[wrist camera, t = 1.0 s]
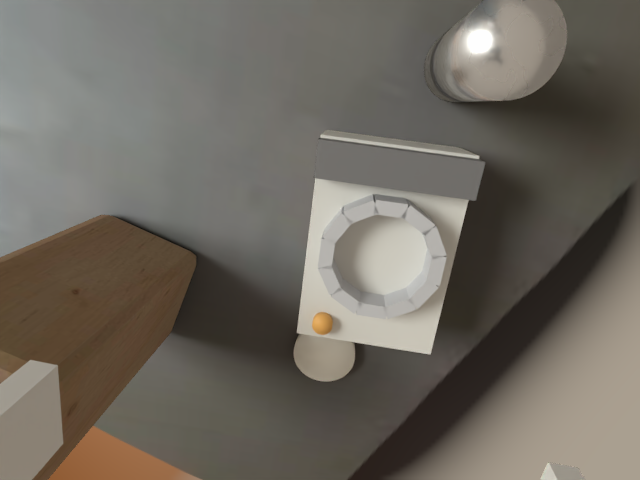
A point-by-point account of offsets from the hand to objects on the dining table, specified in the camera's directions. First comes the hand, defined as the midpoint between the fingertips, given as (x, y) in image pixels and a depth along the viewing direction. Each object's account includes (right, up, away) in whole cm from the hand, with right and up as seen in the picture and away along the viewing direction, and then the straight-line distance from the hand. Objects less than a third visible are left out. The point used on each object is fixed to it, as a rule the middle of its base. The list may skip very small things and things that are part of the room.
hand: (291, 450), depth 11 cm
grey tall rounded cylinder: (+11, +19, +21) cm, 31 cm away
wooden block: (-17, +2, +29) cm, 34 cm away
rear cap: (+1, -5, +30) cm, 31 cm away
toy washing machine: (+6, +7, +25) cm, 27 cm away
